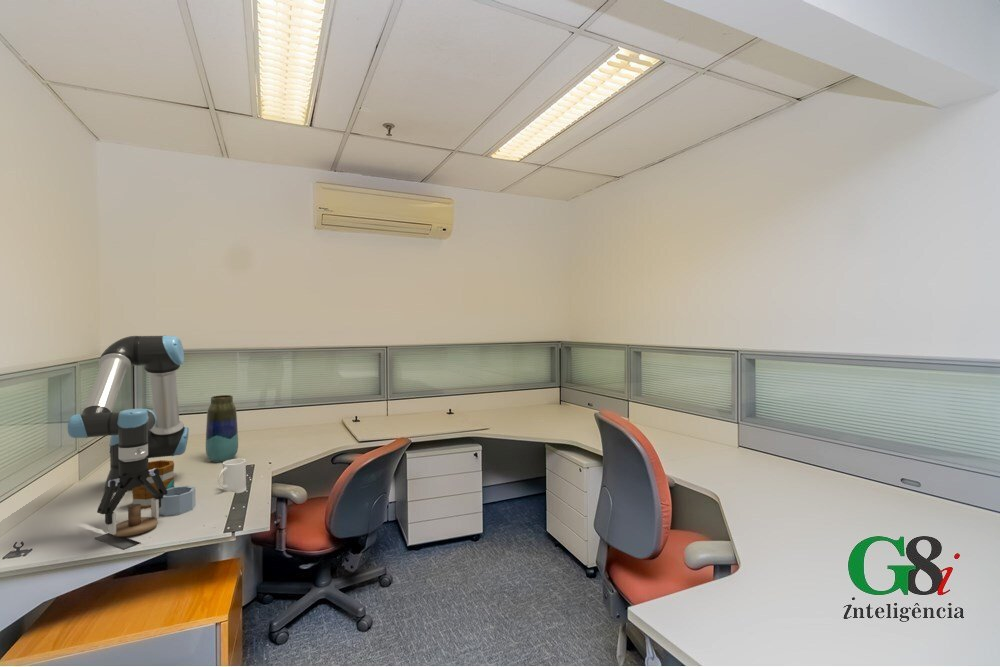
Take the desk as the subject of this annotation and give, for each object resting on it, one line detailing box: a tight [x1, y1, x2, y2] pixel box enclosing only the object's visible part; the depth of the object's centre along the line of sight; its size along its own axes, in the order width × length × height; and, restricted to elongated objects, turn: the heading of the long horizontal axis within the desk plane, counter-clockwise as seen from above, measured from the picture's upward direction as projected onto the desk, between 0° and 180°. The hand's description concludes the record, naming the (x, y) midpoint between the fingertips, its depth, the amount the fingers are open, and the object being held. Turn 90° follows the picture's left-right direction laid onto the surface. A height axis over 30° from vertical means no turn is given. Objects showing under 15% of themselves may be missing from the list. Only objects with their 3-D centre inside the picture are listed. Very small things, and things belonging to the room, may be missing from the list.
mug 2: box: [217, 458, 247, 494], centre depth 188 cm, size 12×8×12 cm
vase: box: [205, 394, 239, 463], centre depth 231 cm, size 14×14×31 cm
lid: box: [112, 504, 158, 537], centre depth 151 cm, size 12×12×7 cm
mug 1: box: [131, 459, 175, 509], centre depth 177 cm, size 20×14×15 cm
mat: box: [94, 532, 141, 551], centre depth 151 cm, size 16×14×1 cm
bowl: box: [159, 485, 197, 517], centre depth 167 cm, size 10×10×8 cm
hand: (134, 525), depth 151 cm, fingers closed on lid, 11 cm apart
